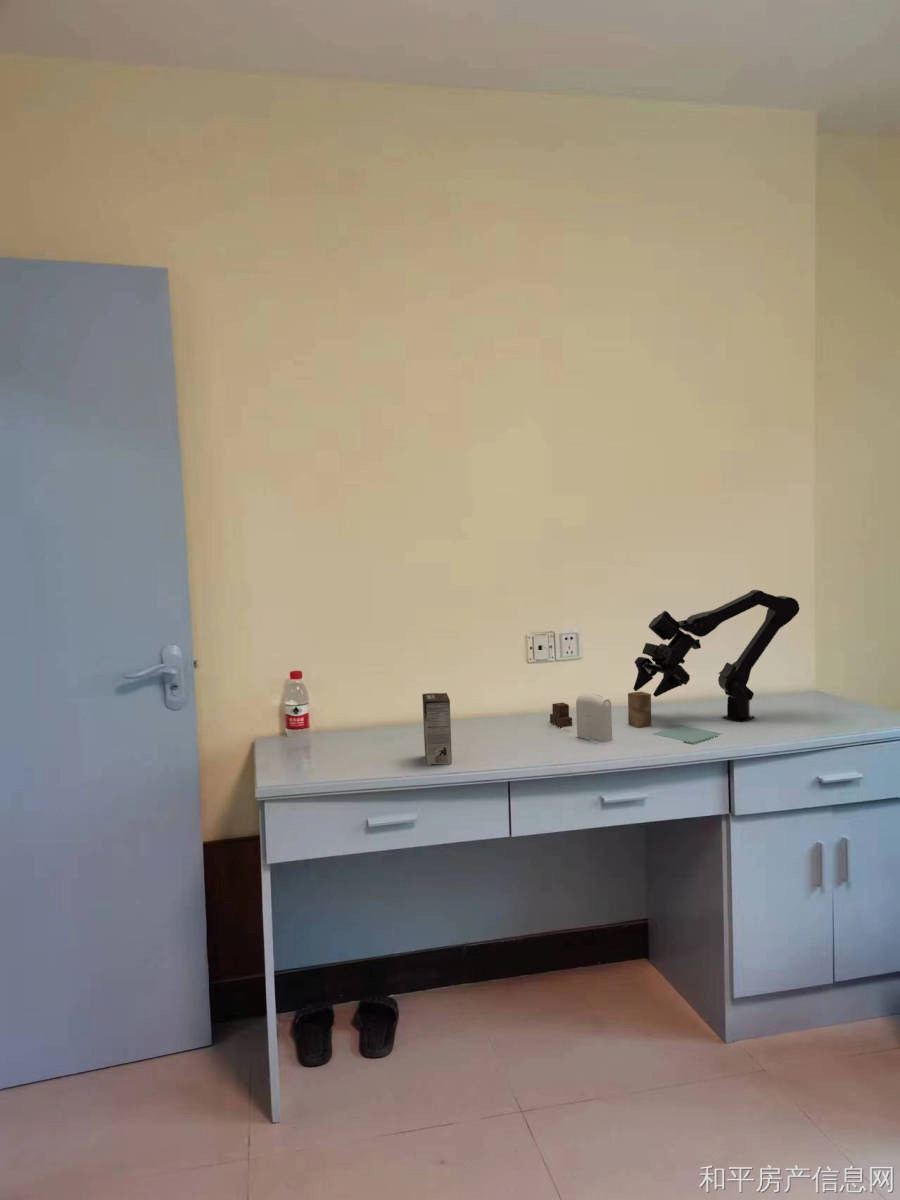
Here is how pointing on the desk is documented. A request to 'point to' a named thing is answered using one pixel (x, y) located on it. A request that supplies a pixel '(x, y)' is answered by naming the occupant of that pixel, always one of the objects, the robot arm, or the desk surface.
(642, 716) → the walnut block
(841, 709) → the desk surface
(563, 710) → the stack of crates
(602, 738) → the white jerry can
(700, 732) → the teal pad
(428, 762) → the coffee box
